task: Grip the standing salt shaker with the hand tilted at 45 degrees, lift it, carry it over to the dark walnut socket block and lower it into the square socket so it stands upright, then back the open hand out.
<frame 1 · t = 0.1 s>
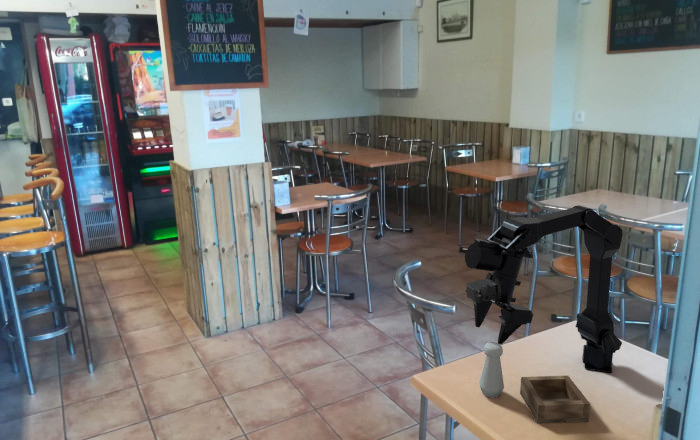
hand: (488, 335, 123), 15 cm above the table, tool pointing down, fingers open, 9 cm apart
socket block: (552, 406, 120), on the table
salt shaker: (491, 393, 126), on the table
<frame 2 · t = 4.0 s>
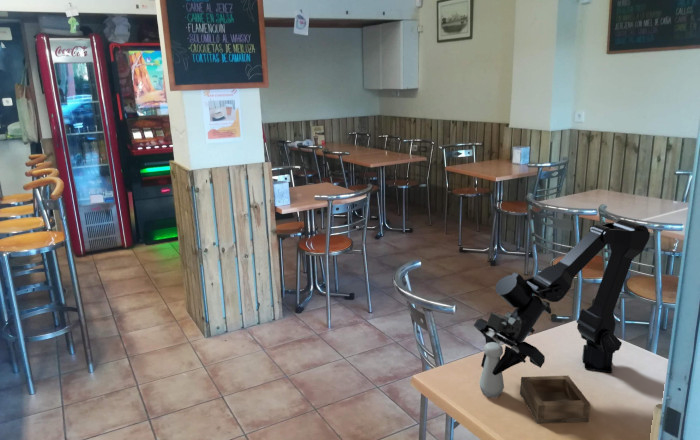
hand: (488, 370, 124), 7 cm above the table, tool tilted 45°, fingers closed on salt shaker, 3 cm apart
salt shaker: (491, 393, 126), on the table, touching gripper
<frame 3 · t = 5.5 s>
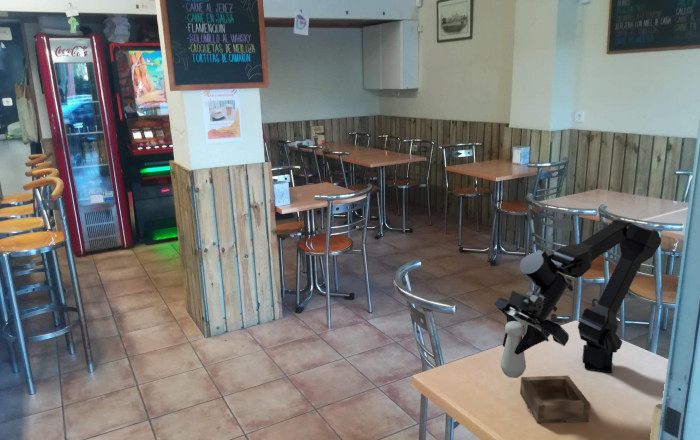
hand: (509, 350, 121), 13 cm above the table, tool tilted 45°, fingers closed on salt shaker, 3 cm apart
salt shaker: (512, 374, 123), point 6 cm above the table, touching gripper
when the fingers open (9 cm above the table, at t = 7.3 s): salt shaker drops 1 cm, resting on socket block.
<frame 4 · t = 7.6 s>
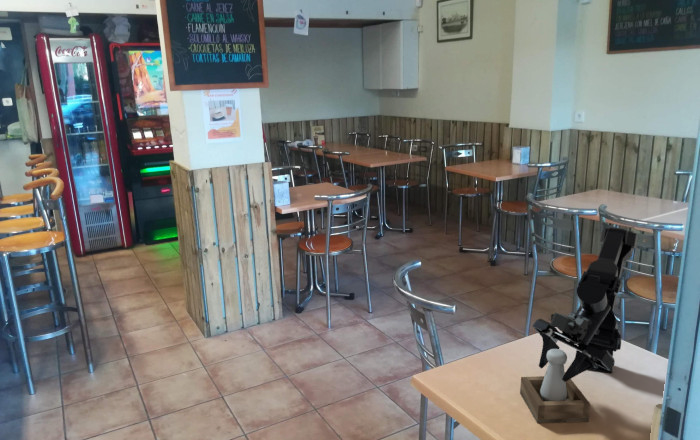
hand: (551, 373, 117), 9 cm above the table, tool tilted 45°, fingers open, 6 cm apart
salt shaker: (552, 402, 120), point 1 cm above the table, touching socket block
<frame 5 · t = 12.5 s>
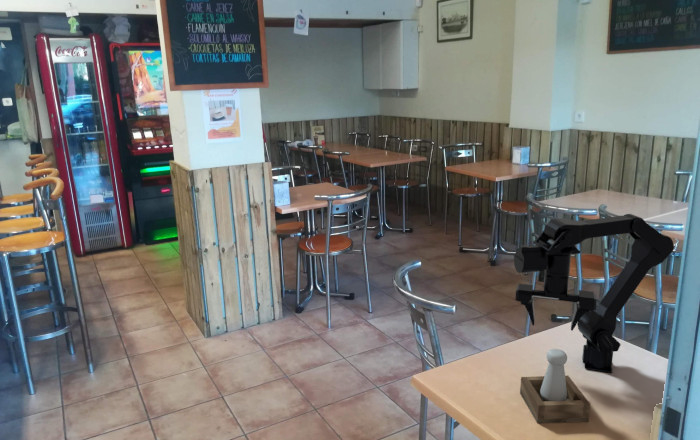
hand: (552, 327, 133), 12 cm above the table, tool pointing down, fingers open, 9 cm apart
nothing on the table moved.
at the end: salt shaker 0.4 cm off-centre on the socket block, point 0.8 cm above the socket block's base; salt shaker tilted 0°; the gripper is holding nothing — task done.
